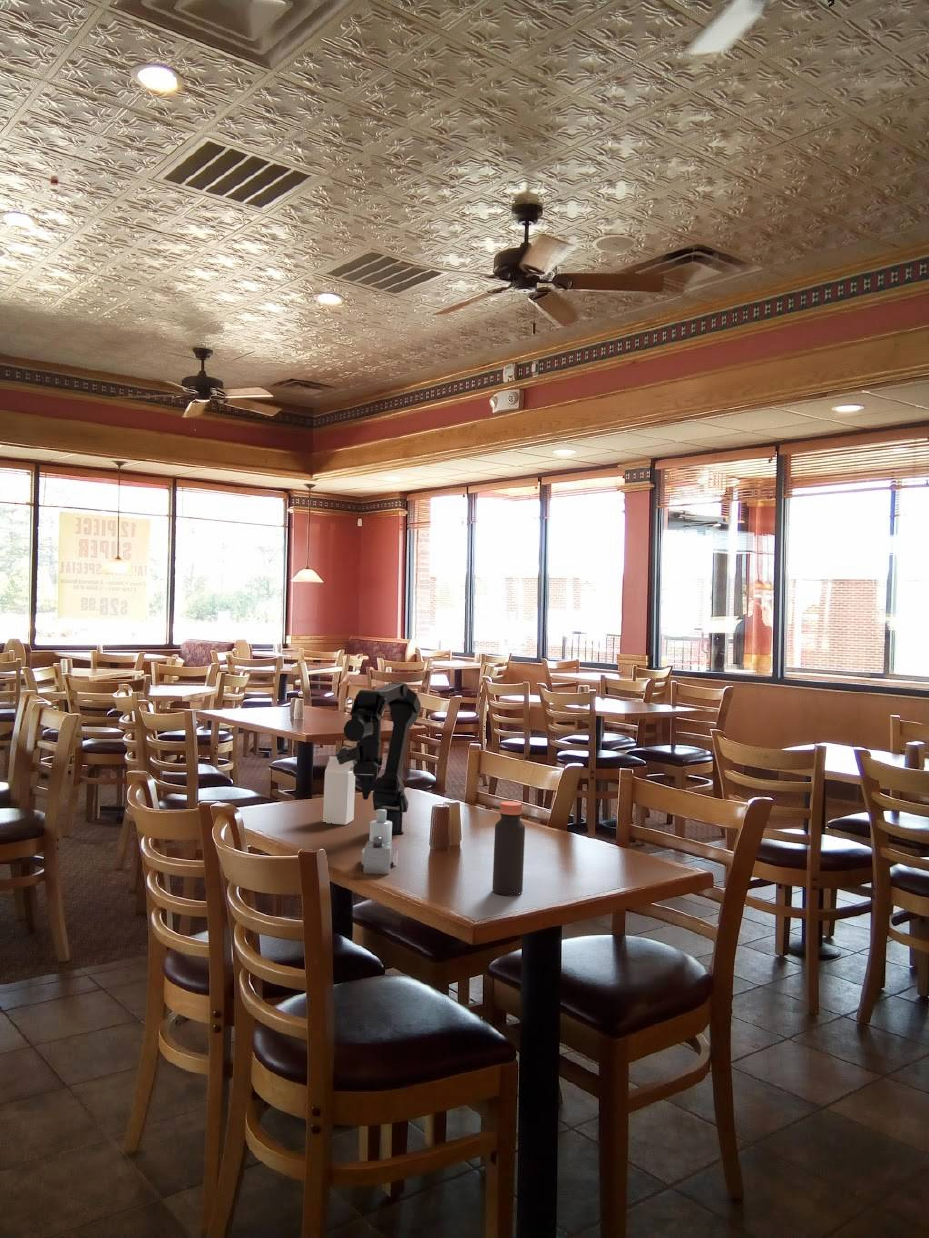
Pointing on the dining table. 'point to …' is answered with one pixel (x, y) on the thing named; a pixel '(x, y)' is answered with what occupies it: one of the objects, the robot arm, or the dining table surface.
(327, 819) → the milk carton
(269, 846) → the dining table surface
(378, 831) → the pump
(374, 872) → the motor
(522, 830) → the bottle
